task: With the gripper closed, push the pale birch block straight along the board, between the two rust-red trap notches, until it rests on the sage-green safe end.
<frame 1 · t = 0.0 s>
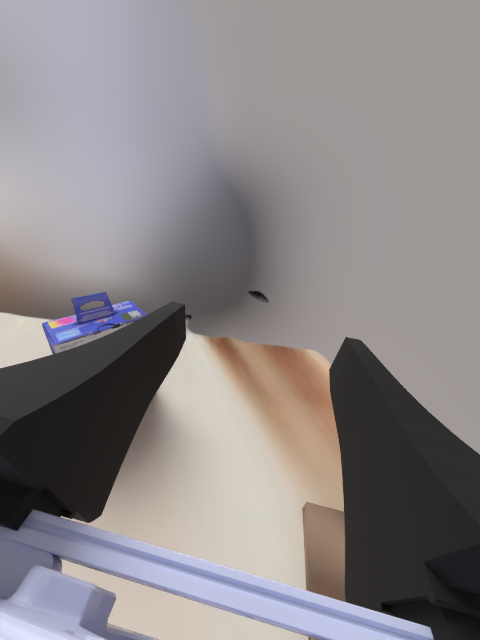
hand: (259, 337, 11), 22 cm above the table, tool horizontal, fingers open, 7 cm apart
ink cartridge box: (115, 392, 33), on the table
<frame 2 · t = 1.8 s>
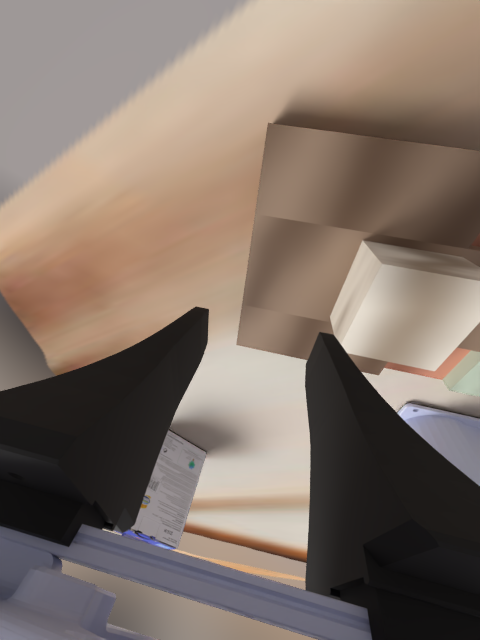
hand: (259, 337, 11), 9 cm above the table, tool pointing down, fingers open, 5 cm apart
ink cartridge box: (176, 440, 39), on the table
trap board: (437, 291, 17), on the table
birch block: (387, 290, 16), point 1 cm above the table, touching trap board
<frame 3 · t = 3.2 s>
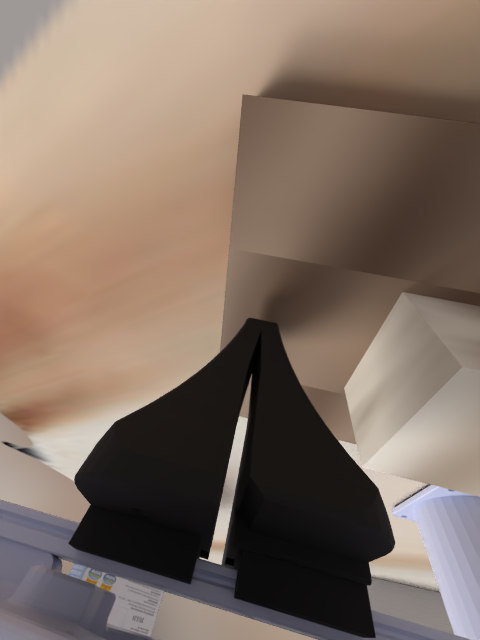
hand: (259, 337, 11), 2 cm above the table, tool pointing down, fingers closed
warehouse: (441, 598, 40), on the table
ink cartridge box: (156, 488, 34), on the table
birch block: (435, 361, 11), point 1 cm above the table, touching trap board
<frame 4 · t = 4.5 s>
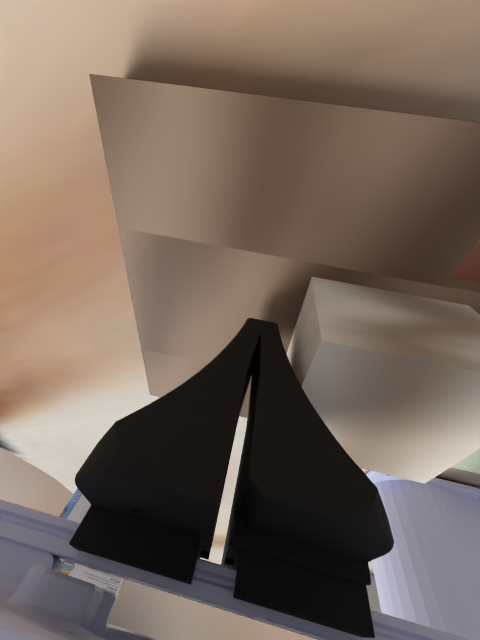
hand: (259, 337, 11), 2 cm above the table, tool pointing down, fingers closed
warehouse: (411, 589, 41), on the table
ink cartridge box: (124, 479, 34), on the table
trap board: (405, 337, 12), on the table
birch block: (356, 346, 11), point 2 cm above the table, touching gripper, trap board
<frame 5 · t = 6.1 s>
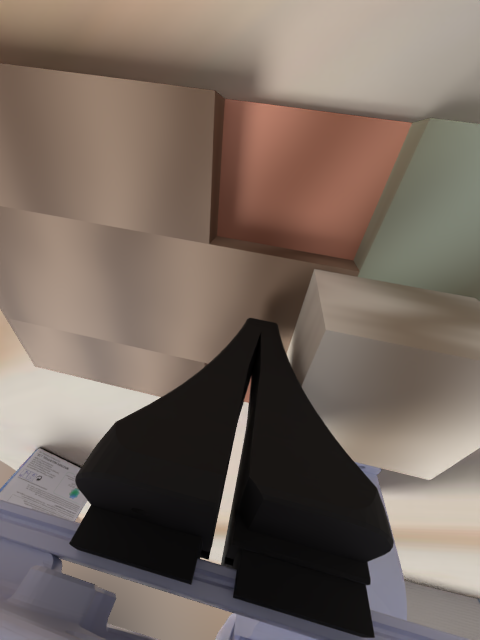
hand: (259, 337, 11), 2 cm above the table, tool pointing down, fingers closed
warehouse: (358, 575, 41), on the table
ink cartridge box: (67, 463, 35), on the table
trap board: (232, 302, 13), on the table
birch block: (359, 341, 11), point 1 cm above the table, touching gripper, trap board
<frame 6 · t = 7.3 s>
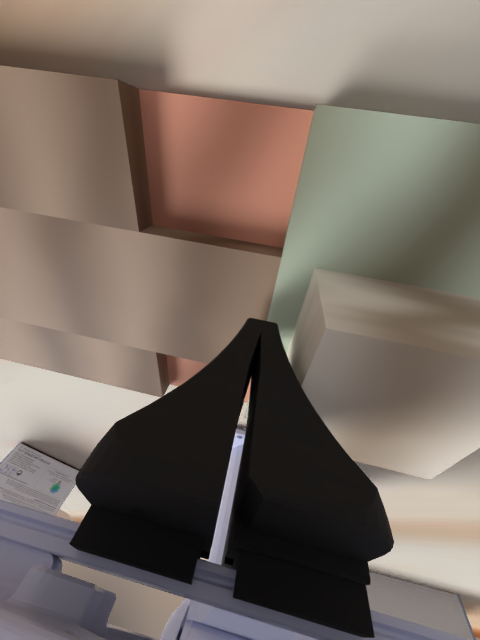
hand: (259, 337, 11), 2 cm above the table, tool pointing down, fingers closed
warehouse: (341, 570, 42), on the table
ink cartridge box: (50, 459, 35), on the table
trap board: (179, 292, 13), on the table
birch block: (360, 340, 11), point 1 cm above the table, touching gripper, trap board
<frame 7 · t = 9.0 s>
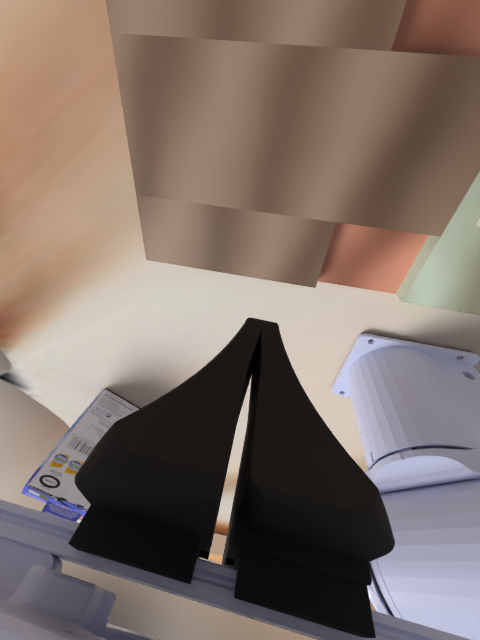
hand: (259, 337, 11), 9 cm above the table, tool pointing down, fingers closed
ink cartridge box: (128, 409, 36), on the table
trap board: (370, 153, 13), on the table
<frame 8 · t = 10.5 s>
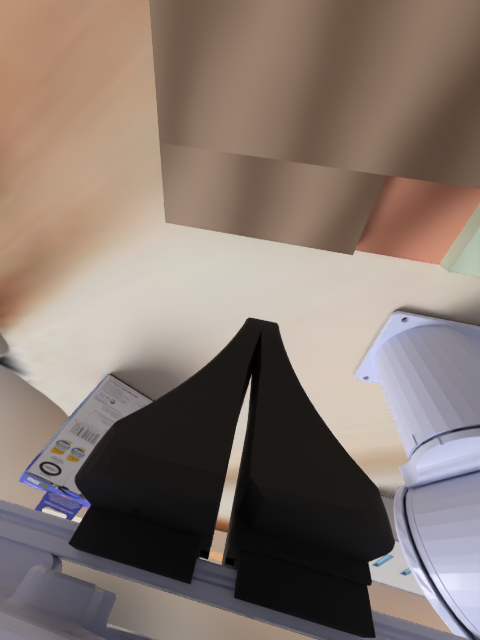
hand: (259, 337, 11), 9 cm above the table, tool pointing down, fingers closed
warehouse: (417, 522, 41), on the table
ink cartridge box: (132, 397, 34), on the table
trap board: (430, 94, 12), on the table
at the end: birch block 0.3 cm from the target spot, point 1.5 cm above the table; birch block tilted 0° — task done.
